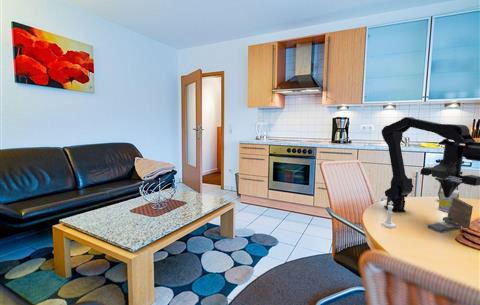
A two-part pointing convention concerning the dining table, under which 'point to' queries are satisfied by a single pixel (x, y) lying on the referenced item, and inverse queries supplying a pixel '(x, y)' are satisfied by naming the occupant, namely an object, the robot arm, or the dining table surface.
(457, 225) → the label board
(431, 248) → the dining table surface
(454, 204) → the walnut gate
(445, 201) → the supplement bottle
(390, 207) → the chess piece
